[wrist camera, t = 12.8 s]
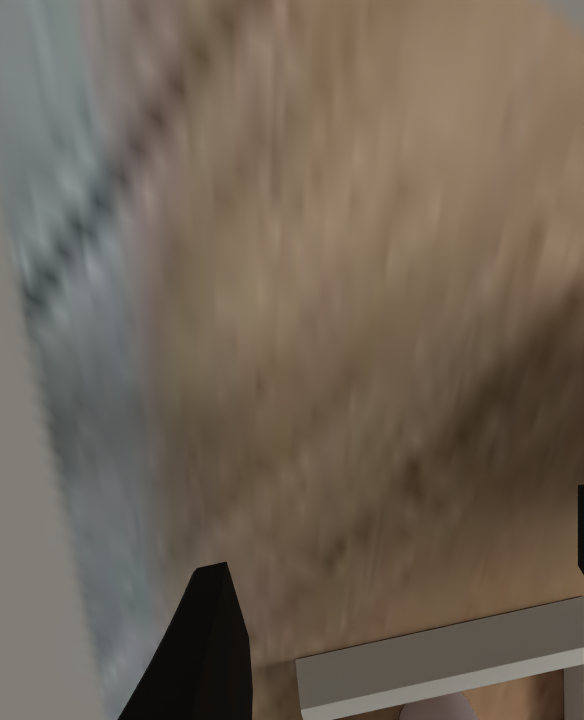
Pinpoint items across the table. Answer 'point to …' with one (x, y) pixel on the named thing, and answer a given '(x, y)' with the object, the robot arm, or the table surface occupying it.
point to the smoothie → (439, 708)
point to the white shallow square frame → (448, 662)
